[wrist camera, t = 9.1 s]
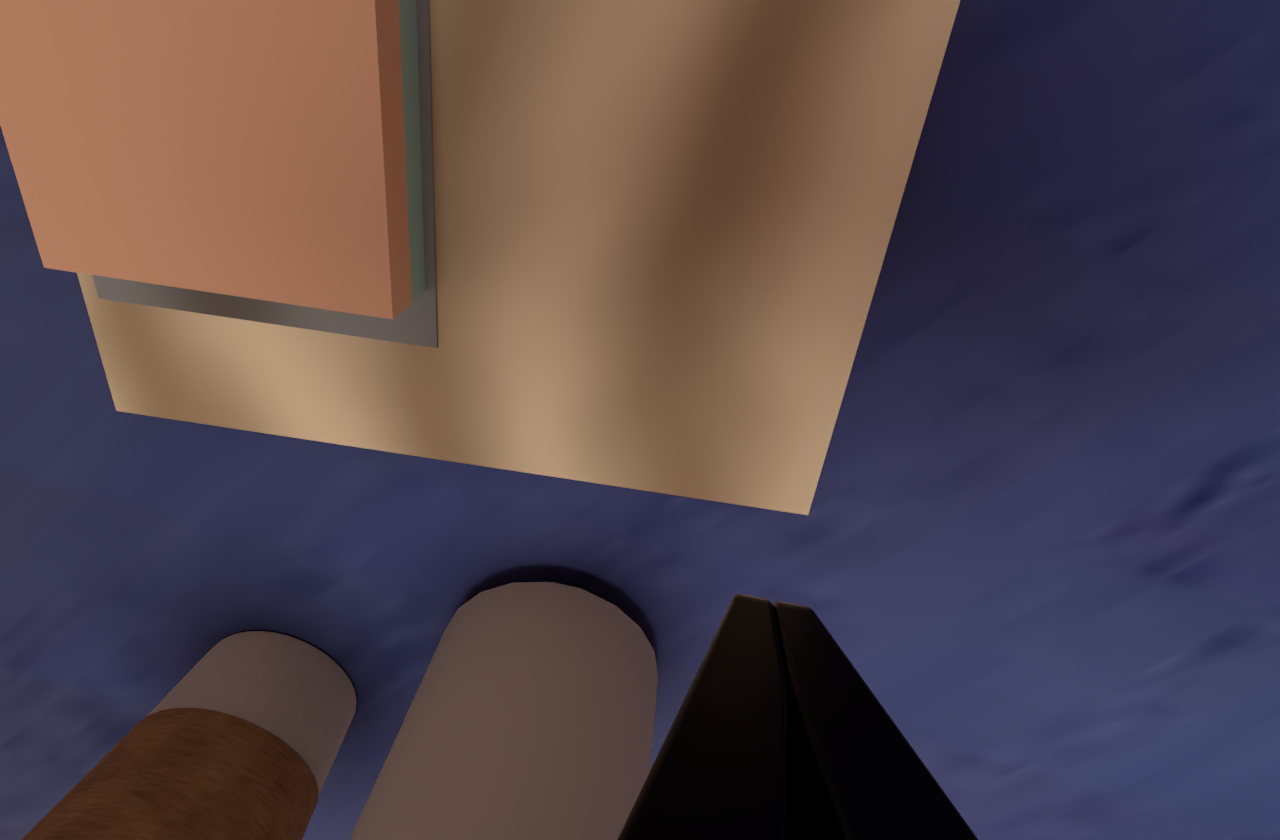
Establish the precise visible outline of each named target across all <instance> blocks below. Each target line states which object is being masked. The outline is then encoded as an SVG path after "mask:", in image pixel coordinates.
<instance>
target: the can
mask: <svg viewBox="0 0 1280 840" xmlns="http://www.w3.org/2000/svg"><path fill="white" fill-rule="evenodd" d="M657 683H658V673H657V665H656V658H655V651H654V650H653V648H652V646H651V645H650V643H649V641H648V639H647V638H646V636H645V634H644V633H643V631H642V629H641V627H640V626H638V625H637V624H636V623H635V622H634V621H633V620H632V619H631V618H629V617H628V616H627V615H626V614H625V613H624V612H623V611H621V610H620V609H619V608H618V607H617V606H616V605H614V604H612V603H610V602H608V601H606V600H604V599H602V598H600V597H598V596H596V595H594V594H592V593H590V592H588V591H586V590H584V589H582V588H578V587H574V586H569V585H565V584H560V583H556V582H518V583H509V584H506V585H503V586H499V587H496V588H493V589H489V590H486V591H483V592H480V593H479V594H478V595H476V596H475V597H473V598H472V599H471V600H469V601H468V602H466V603H465V604H464V605H462V606H461V607H459V608H458V609H457V611H456V613H455V614H454V616H453V618H452V619H451V621H450V622H449V624H448V626H447V627H446V629H445V631H444V633H443V635H442V638H441V640H440V642H439V644H438V646H437V649H436V651H435V653H434V655H433V657H432V660H431V662H430V664H429V666H428V668H427V671H426V673H425V675H424V677H423V679H422V682H421V684H420V686H419V688H418V690H417V693H416V695H415V697H414V699H413V701H412V704H411V706H410V708H409V710H408V712H407V715H406V717H405V719H404V721H403V723H402V726H401V728H400V730H399V732H398V734H397V737H396V739H395V741H394V743H393V745H392V748H391V750H390V752H389V754H388V756H387V759H386V761H385V763H384V765H383V768H382V770H381V772H380V774H379V776H378V779H377V781H376V783H375V785H374V787H373V790H372V792H371V794H370V796H369V798H368V801H367V803H366V805H365V807H364V809H363V812H362V814H361V816H360V818H359V820H358V823H357V825H356V827H355V829H354V831H353V834H352V836H351V838H350V840H617V839H618V837H619V835H620V833H621V831H622V829H623V827H624V825H625V822H626V820H627V818H628V816H629V814H630V812H631V810H632V808H633V806H634V804H635V802H636V799H637V797H638V795H639V793H640V791H641V789H642V787H643V785H644V783H645V781H646V779H647V776H648V774H649V772H650V768H651V756H652V744H653V731H654V719H655V707H656V695H657Z"/></svg>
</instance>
